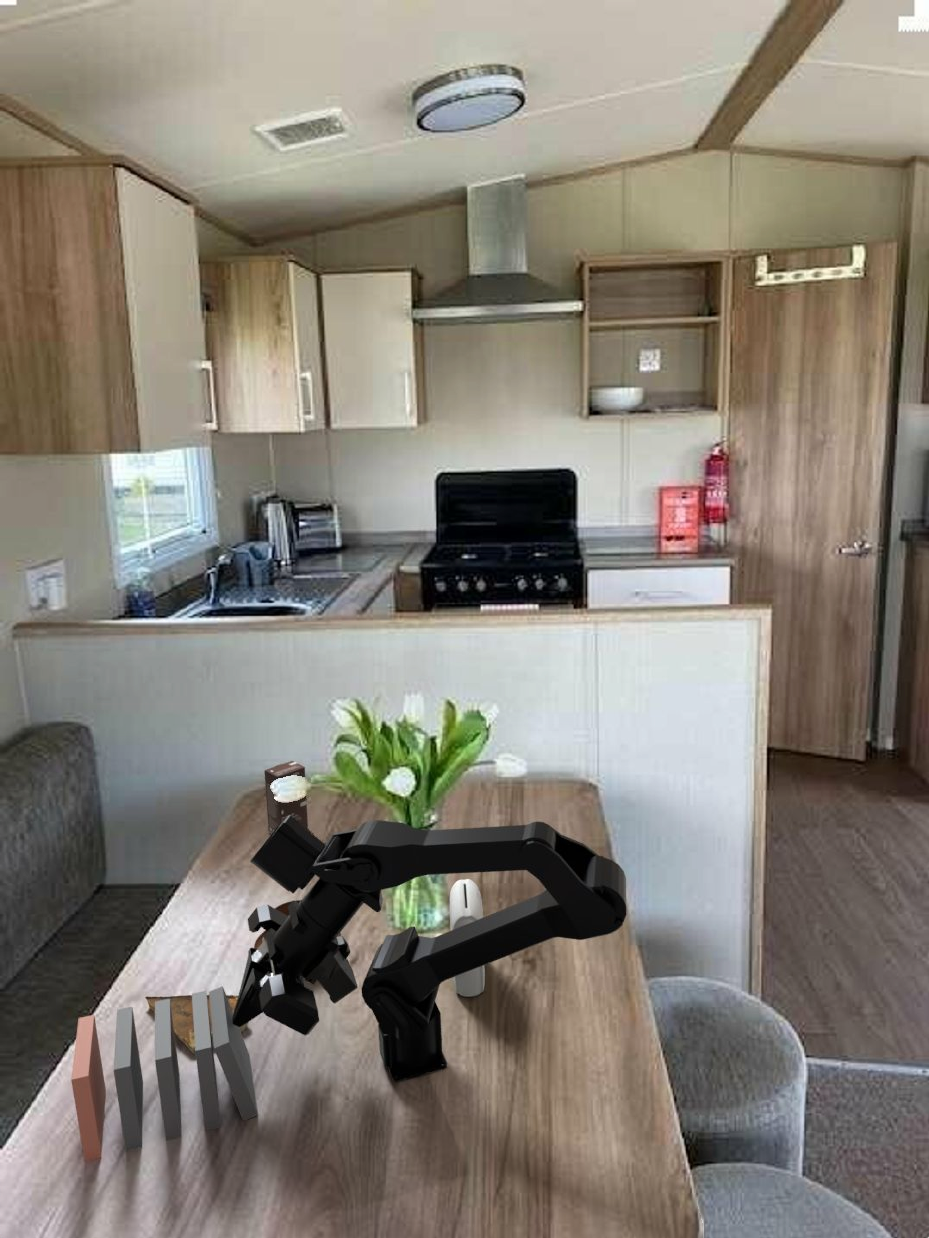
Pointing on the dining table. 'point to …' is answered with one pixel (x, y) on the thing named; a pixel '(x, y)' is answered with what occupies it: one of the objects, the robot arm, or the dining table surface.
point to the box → (282, 810)
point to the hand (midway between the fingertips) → (235, 1023)
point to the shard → (188, 1016)
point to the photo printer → (461, 913)
